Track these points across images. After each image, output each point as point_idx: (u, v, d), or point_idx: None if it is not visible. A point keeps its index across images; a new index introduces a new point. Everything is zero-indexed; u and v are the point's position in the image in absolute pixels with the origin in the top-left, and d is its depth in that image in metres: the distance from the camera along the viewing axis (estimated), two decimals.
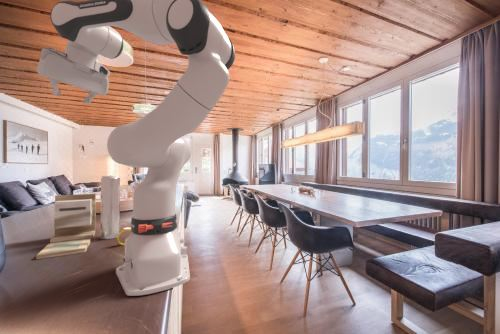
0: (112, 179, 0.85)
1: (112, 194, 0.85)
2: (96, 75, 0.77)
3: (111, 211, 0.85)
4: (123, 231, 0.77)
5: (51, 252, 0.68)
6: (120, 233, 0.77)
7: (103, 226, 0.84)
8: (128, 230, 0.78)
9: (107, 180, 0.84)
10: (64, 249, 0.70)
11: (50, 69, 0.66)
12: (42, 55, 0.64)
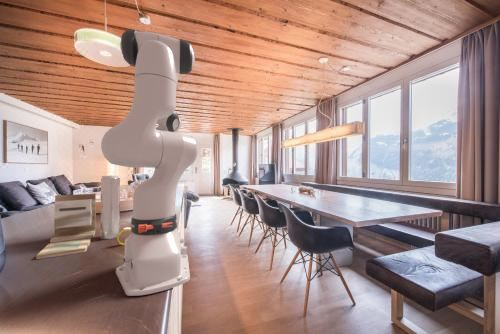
0: (112, 179, 0.85)
1: (112, 194, 0.85)
2: None
3: (111, 211, 0.85)
4: (123, 231, 0.77)
5: (51, 252, 0.68)
6: (120, 233, 0.77)
7: (103, 226, 0.84)
8: (128, 230, 0.78)
9: (107, 180, 0.84)
10: (64, 249, 0.70)
11: None
12: None
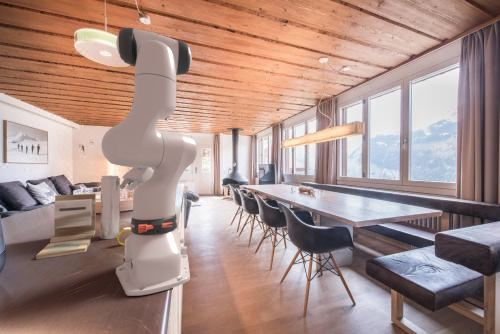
0: (112, 179, 0.85)
1: (112, 194, 0.85)
2: (143, 166, 0.93)
3: (111, 211, 0.85)
4: (123, 231, 0.77)
5: (51, 252, 0.68)
6: (120, 233, 0.77)
7: (103, 226, 0.84)
8: (128, 230, 0.78)
9: (107, 180, 0.84)
10: (64, 249, 0.70)
11: (126, 173, 0.99)
12: None
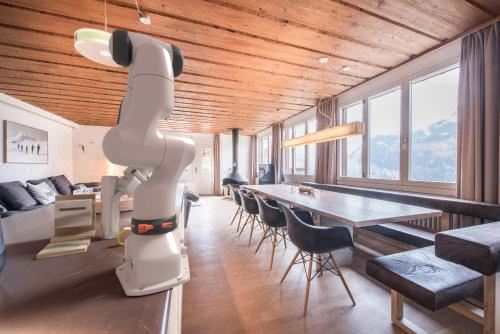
0: (112, 179, 0.85)
1: (112, 194, 0.85)
2: (129, 177, 0.88)
3: (111, 211, 0.85)
4: (123, 231, 0.77)
5: (51, 252, 0.68)
6: (120, 233, 0.77)
7: (103, 226, 0.84)
8: (128, 230, 0.78)
9: (107, 180, 0.84)
10: (64, 249, 0.70)
11: None
12: None
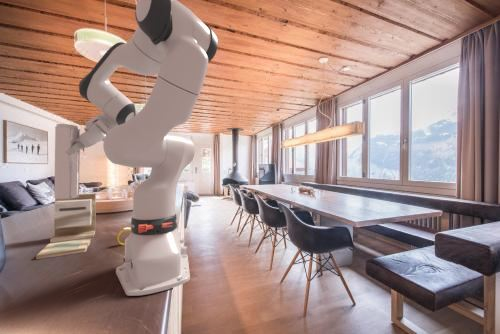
0: (68, 128, 0.71)
1: (68, 146, 0.71)
2: (90, 127, 0.75)
3: (67, 165, 0.71)
4: (123, 231, 0.77)
5: (51, 252, 0.68)
6: (120, 233, 0.77)
7: (57, 183, 0.70)
8: (128, 230, 0.78)
9: (62, 128, 0.70)
10: (64, 249, 0.70)
11: None
12: None
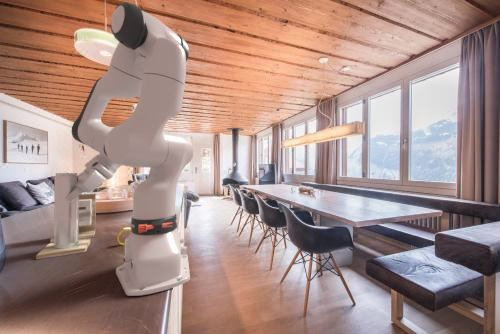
0: (67, 177, 0.71)
1: None
2: (89, 170, 0.75)
3: (66, 215, 0.71)
4: (123, 231, 0.77)
5: (51, 252, 0.68)
6: (120, 233, 0.77)
7: (56, 233, 0.70)
8: (128, 230, 0.78)
9: (61, 178, 0.70)
10: (64, 249, 0.70)
11: None
12: None
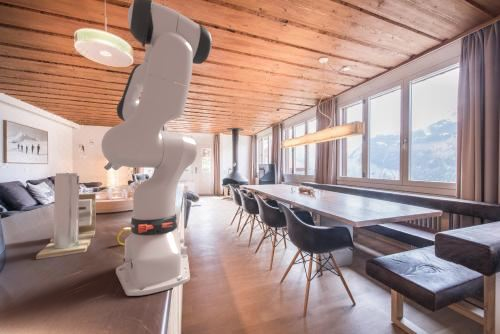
0: (68, 177, 0.71)
1: (67, 195, 0.71)
2: None
3: (66, 215, 0.71)
4: (123, 231, 0.77)
5: (51, 252, 0.68)
6: (120, 233, 0.77)
7: (56, 233, 0.70)
8: (128, 230, 0.78)
9: (61, 178, 0.71)
10: (64, 249, 0.70)
11: None
12: None
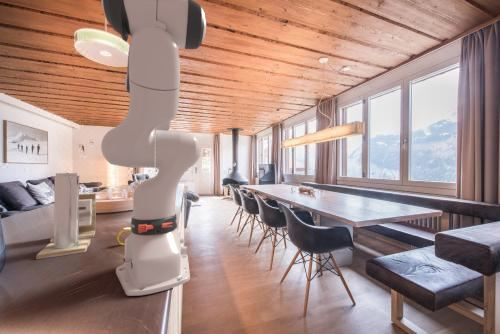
0: (68, 177, 0.71)
1: (67, 195, 0.71)
2: None
3: (66, 215, 0.71)
4: (123, 231, 0.77)
5: (51, 252, 0.68)
6: (120, 233, 0.77)
7: (56, 233, 0.70)
8: (128, 230, 0.78)
9: (61, 178, 0.70)
10: (64, 249, 0.70)
11: (155, 129, 1.01)
12: None
